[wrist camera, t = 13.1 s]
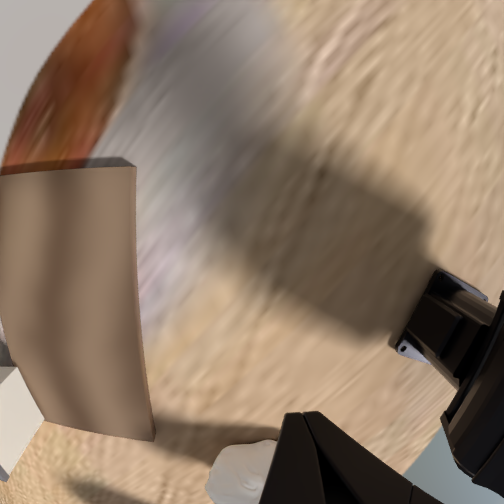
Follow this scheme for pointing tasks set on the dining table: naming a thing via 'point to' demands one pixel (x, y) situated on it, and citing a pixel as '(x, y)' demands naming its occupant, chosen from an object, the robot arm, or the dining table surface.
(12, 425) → the white toy cabinet
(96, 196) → the tan wooden board
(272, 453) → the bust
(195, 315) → the dining table surface
